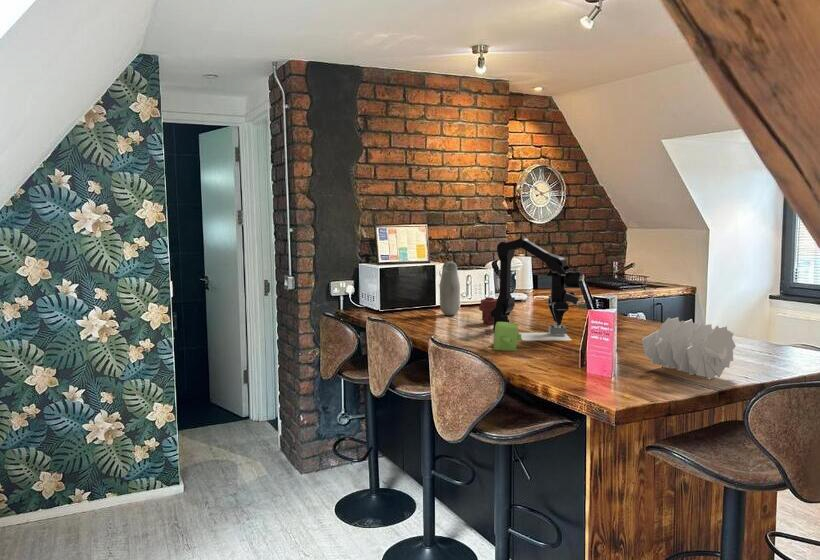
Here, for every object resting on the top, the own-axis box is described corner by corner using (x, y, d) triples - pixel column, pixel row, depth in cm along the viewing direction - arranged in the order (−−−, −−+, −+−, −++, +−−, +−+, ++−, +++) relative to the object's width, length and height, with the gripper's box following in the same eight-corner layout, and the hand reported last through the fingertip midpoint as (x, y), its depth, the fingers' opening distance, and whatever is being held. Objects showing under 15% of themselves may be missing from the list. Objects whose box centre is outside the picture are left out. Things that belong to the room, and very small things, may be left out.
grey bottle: (436, 314, 338) (436, 261, 335) (454, 313, 342) (453, 260, 339) (445, 317, 329) (445, 262, 326) (463, 315, 333) (463, 261, 330)
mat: (522, 341, 265) (522, 340, 265) (518, 334, 282) (518, 332, 282) (572, 341, 264) (572, 340, 264) (565, 334, 281) (565, 332, 280)
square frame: (550, 334, 274) (550, 328, 273) (548, 331, 280) (548, 325, 280) (566, 334, 273) (566, 328, 273) (563, 331, 280) (564, 325, 279)
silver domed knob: (550, 335, 274) (550, 323, 273) (548, 333, 280) (548, 321, 280) (566, 335, 273) (566, 323, 273) (563, 333, 280) (563, 321, 279)
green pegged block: (519, 355, 243) (520, 330, 242) (492, 353, 245) (494, 328, 244) (521, 344, 261) (522, 321, 259) (496, 342, 262) (497, 319, 261)
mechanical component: (498, 321, 314) (501, 325, 304) (478, 321, 315) (479, 325, 305) (499, 296, 313) (501, 299, 303) (478, 296, 313) (480, 299, 303)
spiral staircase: (667, 375, 224) (732, 389, 202) (633, 359, 216) (697, 371, 194) (682, 326, 227) (748, 334, 204) (649, 308, 219) (714, 314, 197)
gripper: (581, 289, 265) (580, 327, 266) (573, 284, 283) (572, 319, 285) (553, 289, 266) (553, 327, 267) (547, 284, 284) (546, 319, 286)
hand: (557, 323), depth 276 cm, fingers open, 9 cm apart
